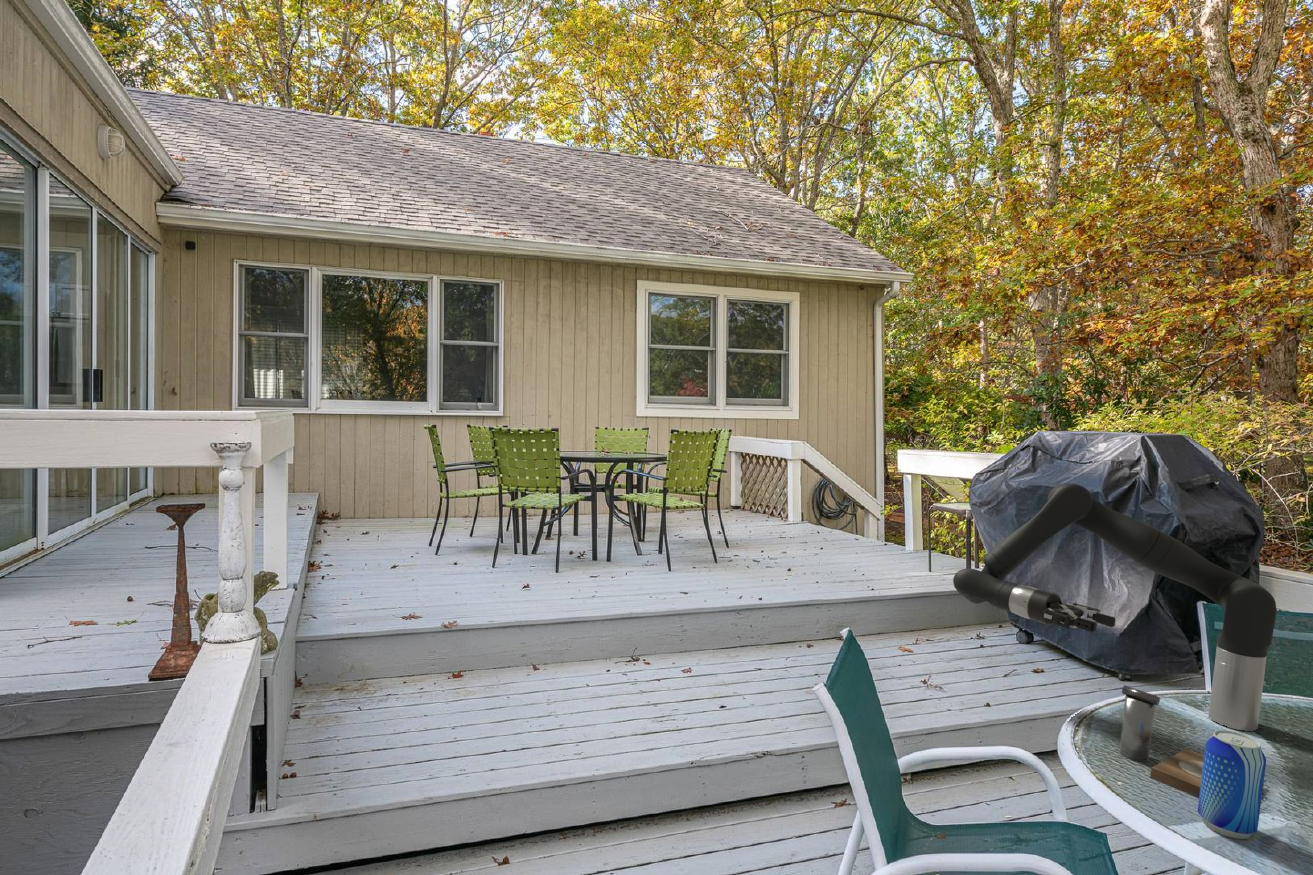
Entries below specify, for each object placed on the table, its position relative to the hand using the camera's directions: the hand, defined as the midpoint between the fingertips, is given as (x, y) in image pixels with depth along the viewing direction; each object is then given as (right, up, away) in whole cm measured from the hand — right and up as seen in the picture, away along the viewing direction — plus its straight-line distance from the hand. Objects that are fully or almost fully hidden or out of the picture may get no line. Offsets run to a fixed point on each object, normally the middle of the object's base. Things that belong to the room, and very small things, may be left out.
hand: (1105, 625), depth 170 cm
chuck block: (+7, -25, -21) cm, 33 cm away
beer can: (0, -26, -37) cm, 45 cm away
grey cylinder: (-1, -24, -11) cm, 27 cm away
